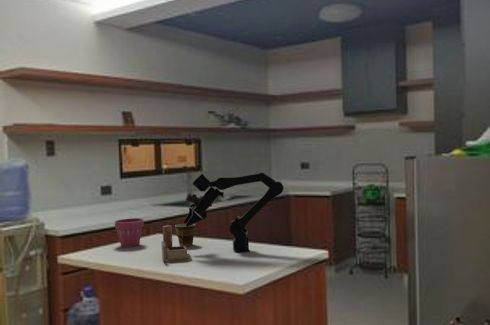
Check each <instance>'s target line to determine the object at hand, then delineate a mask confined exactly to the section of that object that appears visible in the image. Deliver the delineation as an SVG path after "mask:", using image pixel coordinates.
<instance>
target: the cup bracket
mask: <svg viewBox="0 0 490 325" xmlns="http://www.w3.org/2000/svg"><path fill="white" fill-rule="evenodd" d="M166 252H167V255H166ZM161 258H162V262H163V264H168V263H181V262H182V263H183V262H189V261H190V262H192V261H193V258H192V256H191V255H190V253H188V248H187V246H180V245H179V246H172V247H166V246H165V243H164V241H163V240H161Z"/></svg>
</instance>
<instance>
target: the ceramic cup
mask: <svg viewBox="0 0 490 325" xmlns="http://www.w3.org/2000/svg"><path fill="white" fill-rule="evenodd" d="M174 226H175V228H174V230H173V234H174V236H175V235H176V236H177V239H178V244H179V246H185V247H190V246H193V243H194V238H195V237H194V236H195V232H196V223H194V224H192V225H190V226H188V227H187V226H186V224H185V223H180V224H178V223H177V224H175V225H174Z"/></svg>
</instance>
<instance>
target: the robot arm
mask: <svg viewBox="0 0 490 325" xmlns="http://www.w3.org/2000/svg"><path fill="white" fill-rule="evenodd" d="M258 182H261V183H263V184H264V185H265V186H266V187H268V189H267V191H266V192H265V194H263V196H261V198H259V199H258V200H257V202H256V203H255V204H253V205H252V206H251V207H250V208H249V210H247V211H246V212H245V213H244V214H243V215H242V216H241V217H240V215H237V216H236V217H235V219H234V220H232V221H231V222H230V226H229V232H230V234H232V235H233V240H232V250H233V251H234V252H235V253H244V252H250V251H251V250H250V247H249V246H250V245H249V243H250V242H249V236H248V234H249V231H248V230H247V229H246V228H245V227H246V226H247V224H249V222H250V221H251V220H252V219H253V218H254V217H255V216H256V215H257V214H258V213H260V211H261V210H262V209H264V207H265V206H266V205H267V204H268V203H269V202H270V201H271V200H272V201H273V199H275V198H276V197H278V196H279V195H281V194H282V193H283V192H284V184H283V182H282V181H279V180H277V181H276V180H275V179H274V178H272V177H270V176H269V175H268V174H267V173H266V172H262V171H261V172H259V173H253V174H247V175H241V176H220V177H218V178H217V179H216V180H210V179H209V178H208V177H207V176H205V174H204V173H200V175H199V176H198V177H197V178H195V180H194V181H193V182H192V184H191V185H193V187H195V188H196V189H197V190H198V191H199V192H200V193H202V192H204V194H203V195H201V196H200V197H198V195H197V194H195V193H192V194H190V193H187V194H186V198H185V199H184V200H186V201H187V202H189V203H190V205H189V207H188V214H187V215H186V217H185V218H184V220H183V224H186V226H187V227H188V226H190V225H192V224H196V223H199V222H200V221H203V220H205V219H206V218H207V215H208V214H207V211H208V209H210V208H211V207H212V206H213V204H214V203H215V201H216V200H217V199H218V198H219V197H220V198H221V199H224V194H225V193H224V190H227V189H230V188H233V187H235V186H239V185H240V186H241V185H246V184H252V183H258Z"/></svg>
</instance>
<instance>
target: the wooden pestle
mask: <svg viewBox="0 0 490 325" xmlns="http://www.w3.org/2000/svg"><path fill="white" fill-rule="evenodd" d="M162 238H163V239H162V241H164V243H165V246H166V247H173V226H172V225H162ZM166 255H167V252H166Z"/></svg>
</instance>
